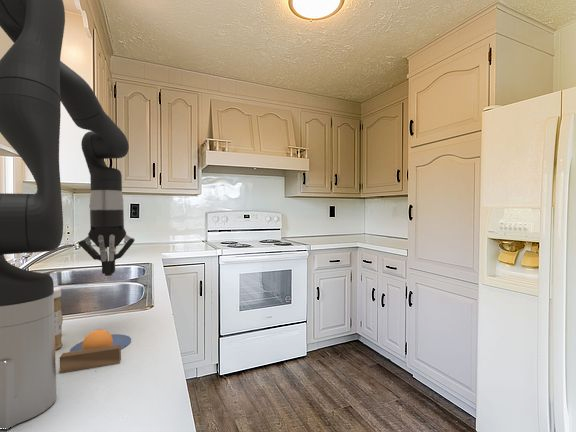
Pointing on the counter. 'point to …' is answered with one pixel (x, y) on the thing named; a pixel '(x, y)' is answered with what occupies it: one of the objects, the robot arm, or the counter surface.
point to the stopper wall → (90, 358)
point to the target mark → (117, 340)
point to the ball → (97, 340)
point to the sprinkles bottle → (57, 317)
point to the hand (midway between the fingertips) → (108, 275)
